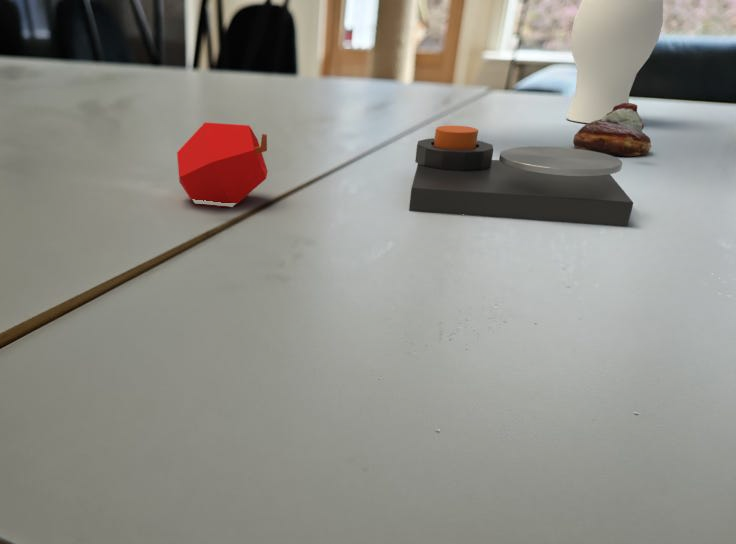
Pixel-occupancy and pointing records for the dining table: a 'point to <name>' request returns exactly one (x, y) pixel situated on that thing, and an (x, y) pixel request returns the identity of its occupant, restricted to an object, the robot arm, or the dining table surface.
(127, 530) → the dining table surface
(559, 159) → the weighing plate
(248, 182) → the apple
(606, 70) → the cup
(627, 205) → the scale
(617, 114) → the pastry
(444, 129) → the tare button
